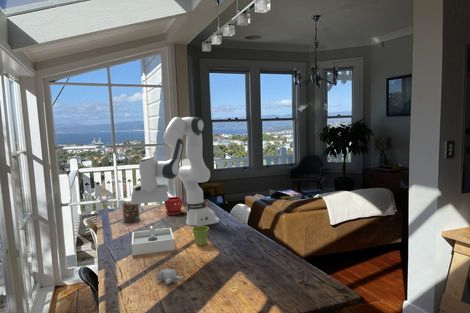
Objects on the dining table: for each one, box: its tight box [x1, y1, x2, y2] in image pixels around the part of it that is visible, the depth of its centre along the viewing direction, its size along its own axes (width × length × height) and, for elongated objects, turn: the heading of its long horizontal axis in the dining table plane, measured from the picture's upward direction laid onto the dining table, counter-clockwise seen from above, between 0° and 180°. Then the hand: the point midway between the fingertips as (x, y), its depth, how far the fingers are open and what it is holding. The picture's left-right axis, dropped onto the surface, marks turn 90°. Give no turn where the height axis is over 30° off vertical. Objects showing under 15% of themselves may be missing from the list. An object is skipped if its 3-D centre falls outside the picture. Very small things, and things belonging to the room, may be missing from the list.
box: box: [131, 227, 176, 256], centre depth 197 cm, size 22×22×6 cm
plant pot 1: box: [164, 196, 183, 216], centre depth 267 cm, size 13×13×12 cm
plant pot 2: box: [191, 225, 210, 246], centre depth 197 cm, size 9×9×9 cm
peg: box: [148, 225, 156, 241], centre depth 200 cm, size 3×3×10 cm
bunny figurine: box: [155, 267, 185, 285], centre depth 151 cm, size 10×5×15 cm
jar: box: [121, 197, 141, 223], centre depth 254 cm, size 12×12×15 cm
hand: (150, 210), depth 199 cm, fingers open, 8 cm apart
